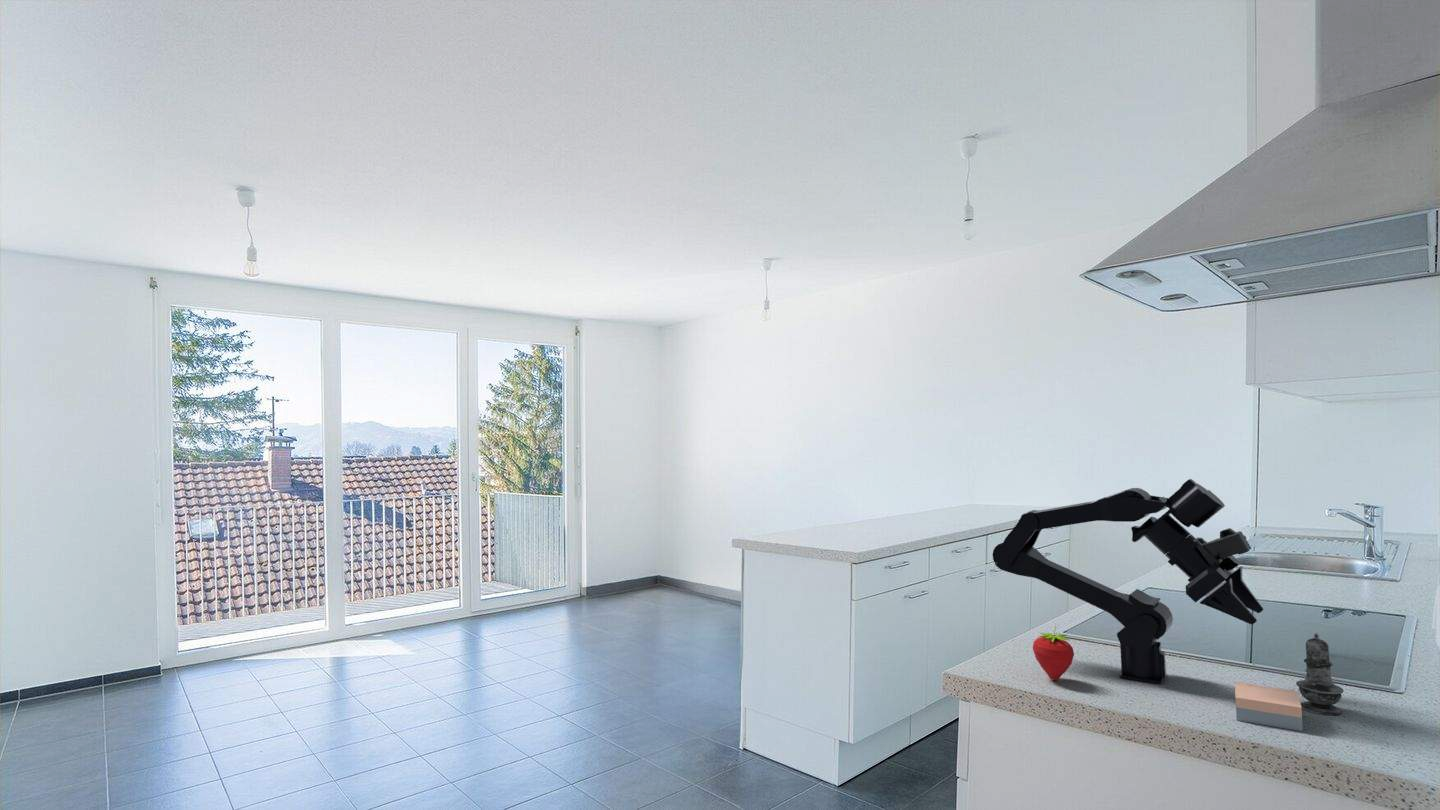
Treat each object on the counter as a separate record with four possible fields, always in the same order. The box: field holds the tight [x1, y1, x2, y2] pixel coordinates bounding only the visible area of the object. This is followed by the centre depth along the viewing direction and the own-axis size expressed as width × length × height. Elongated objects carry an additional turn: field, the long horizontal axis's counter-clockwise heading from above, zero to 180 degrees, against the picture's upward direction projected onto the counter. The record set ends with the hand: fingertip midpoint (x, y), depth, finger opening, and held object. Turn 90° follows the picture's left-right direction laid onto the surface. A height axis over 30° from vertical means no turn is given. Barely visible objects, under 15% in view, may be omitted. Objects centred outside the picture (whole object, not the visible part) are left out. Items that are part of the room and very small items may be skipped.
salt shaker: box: [1295, 633, 1345, 717], centre depth 115 cm, size 6×6×12 cm
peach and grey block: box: [1234, 681, 1304, 732], centre depth 113 cm, size 8×8×4 cm
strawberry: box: [1032, 625, 1075, 681], centre depth 131 cm, size 6×8×10 cm
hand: (1258, 616), depth 121 cm, fingers open, 9 cm apart
